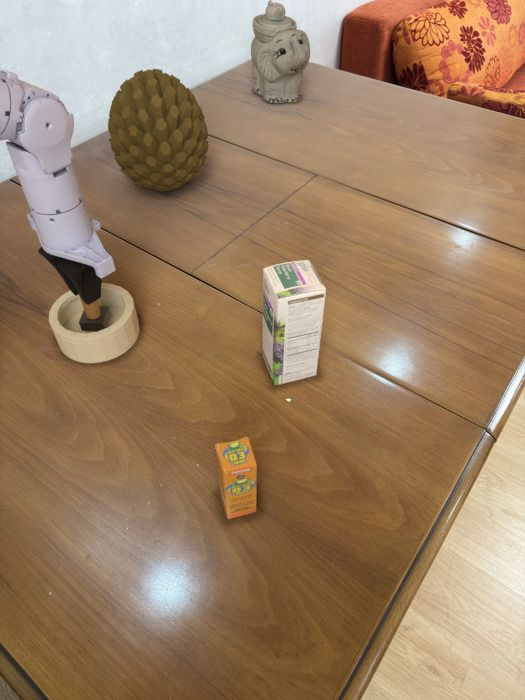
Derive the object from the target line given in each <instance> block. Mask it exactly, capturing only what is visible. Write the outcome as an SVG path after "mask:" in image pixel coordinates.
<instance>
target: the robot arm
mask: <svg viewBox="0 0 525 700" xmlns="http://www.w3.org/2000/svg"><path fill="white" fill-rule="evenodd" d="M60 99H61V98H60V97H59V96H57V95H56V94H55V93H53V92H51V91H49V90H46V89H44V88H42V87H38V86H36V85H33V84H31V83H28V82H27V81H25V80H22V79H19V78H18V74H16V73H14V72H12V71H9V70H6V69H4V68H1V69H0V141H5V145H6V149H7V150H8V153H9V156H10V159H11V162H12V164H13V168H14V170H15V173H16V176H17V178H18V181H19V183H20V186H21V189H22V192H23V194H24V197H25V200H26V202H27V205H28V209H29V211H30V212H29V213H28V214H26V217H27V220H28V223H29V225H30V228H31V229H32V230H33V231H35V233H36V235H37V238H38V240H39V243H40V245H41V247H39V248H38V254H39V255H40V256H42V257H43V258H44V259H45V260H46V261H47V262H49V264H50V265H51V266H52V267H53V268H54V269H55V270H56V272H57V273H58V274H59V276H60V278H61V279H62V280H63V282H64V283H65V285H66V287H67V288H68V289H69V291H70V290H71V292H72V293H73V294H74V295H76V296H77V295H80V297H81V299H82V300H83V301H84V302H85V303H86V304H87V305H89V304H91V303H93V302H94V301H96V300H98V299H99V298H101V283H102V281H103V280H102V279H103V278H105V277H107V276H109V275H111V274H112V273H113V272H115V271H116V267H115V262H114V259H113V256H112V255H111V254H109V253H108V251H107V250H106V249H105V247H104V245H103V244H102V241H101V239H100V238H99V236H98V233H97V232H98V231H100V230H101V228H102V225H101V223H100V222H99V221H98V220H96V218H93V217H89V213H88V209H87V206H86V203H85V198H84V196H83V191H82V188H81V185H80V181H79V178H78V174H77V170H76V167H75V164H74V159H73V158H74V155H73V152H72V148H71V142H72V137H73V135H74V130H75V118H74V114H73V113H72V112H69V111H68V110H67V107H66V105H65V103H64V102H63V101H62V100H60ZM78 293H79V294H78Z"/></svg>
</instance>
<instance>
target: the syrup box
mask: <svg viewBox="0 0 525 700" xmlns="http://www.w3.org/2000/svg"><path fill="white" fill-rule="evenodd" d="M326 294H327V288H326V286H325V285H324V284H323V282H322V280H321V278H320V275H319V273H318V272H317V270H316V268H315V267H314V266H313V264H312V262H311V260H310V259H301V260H294V261H293V260H292V261H286V262H282V263H281V262H280V263H277V264H272V265H269V266H266V267H263V269H262V332H261V333H262V337H261V339H262V357H263V360H264V363H265V366H266V368H267V370H268V373H269V375H270V377H271V380H272V382H273V385H274V386H279V385H285V384H287V383H292V382H296V381H300V380H303V379H308V378H310V377H314V376H317V374H318V366H319V356H320V350H321V349H320V348H321V341H322V340H321V339H322V329H323V322H324V313H325V304H326V297H327V295H326Z"/></svg>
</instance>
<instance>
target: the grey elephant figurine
mask: <svg viewBox="0 0 525 700" xmlns="http://www.w3.org/2000/svg"><path fill="white" fill-rule="evenodd" d="M297 28H298V27H297V22H296V20H294V19H293V18H292V17H290V16H286V8H285V6H284V5H283V4H282V3H279V2H277V1H274V2H273V0H268V2H267V6H266V8H265V13H262V14H258V15H256V16H254V17H253V19H252V31H253V35H254V37H253V39H252V41H251V45H250V56H251V61H252V69H251V77H252V80H253V81H252V91H253V92H254V93H255V94H257V95H259V96H262V99H263V100H264V101H266V102H267V103H270V104H282V103H297V102H298V101H299V100H300V99H301V87H302V85H303V71H304V70H305V69H306V68H307V67H308V64H309V62H310V59H311V46H310V40H309V36H308V35H307V32H305V31H304V30H302V29H297ZM260 92H261V93H260ZM298 95H300V96H299V97H298ZM296 97H297V98H296ZM283 98H295V99H283ZM268 99H269V100H268ZM278 99H281V100H278Z"/></svg>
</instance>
